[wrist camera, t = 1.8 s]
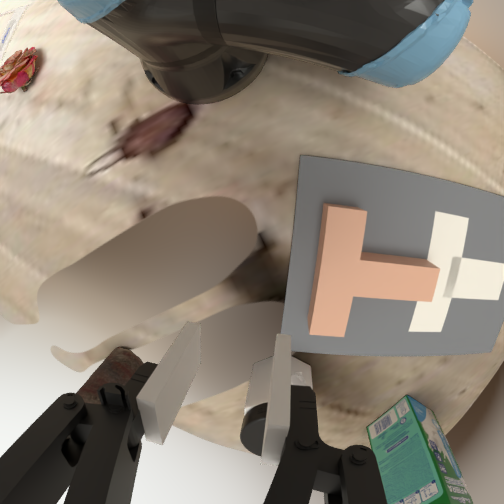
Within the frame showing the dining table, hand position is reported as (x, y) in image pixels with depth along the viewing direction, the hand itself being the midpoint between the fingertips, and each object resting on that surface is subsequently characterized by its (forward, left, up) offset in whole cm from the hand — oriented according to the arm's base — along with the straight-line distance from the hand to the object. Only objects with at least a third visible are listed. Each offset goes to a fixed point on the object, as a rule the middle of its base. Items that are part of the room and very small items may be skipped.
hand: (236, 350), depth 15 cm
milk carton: (+26, +26, -20) cm, 42 cm away
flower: (-28, -42, -20) cm, 54 cm away
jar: (+17, +4, -20) cm, 26 cm away
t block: (0, +13, -19) cm, 23 cm away
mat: (0, +21, -20) cm, 29 cm away
